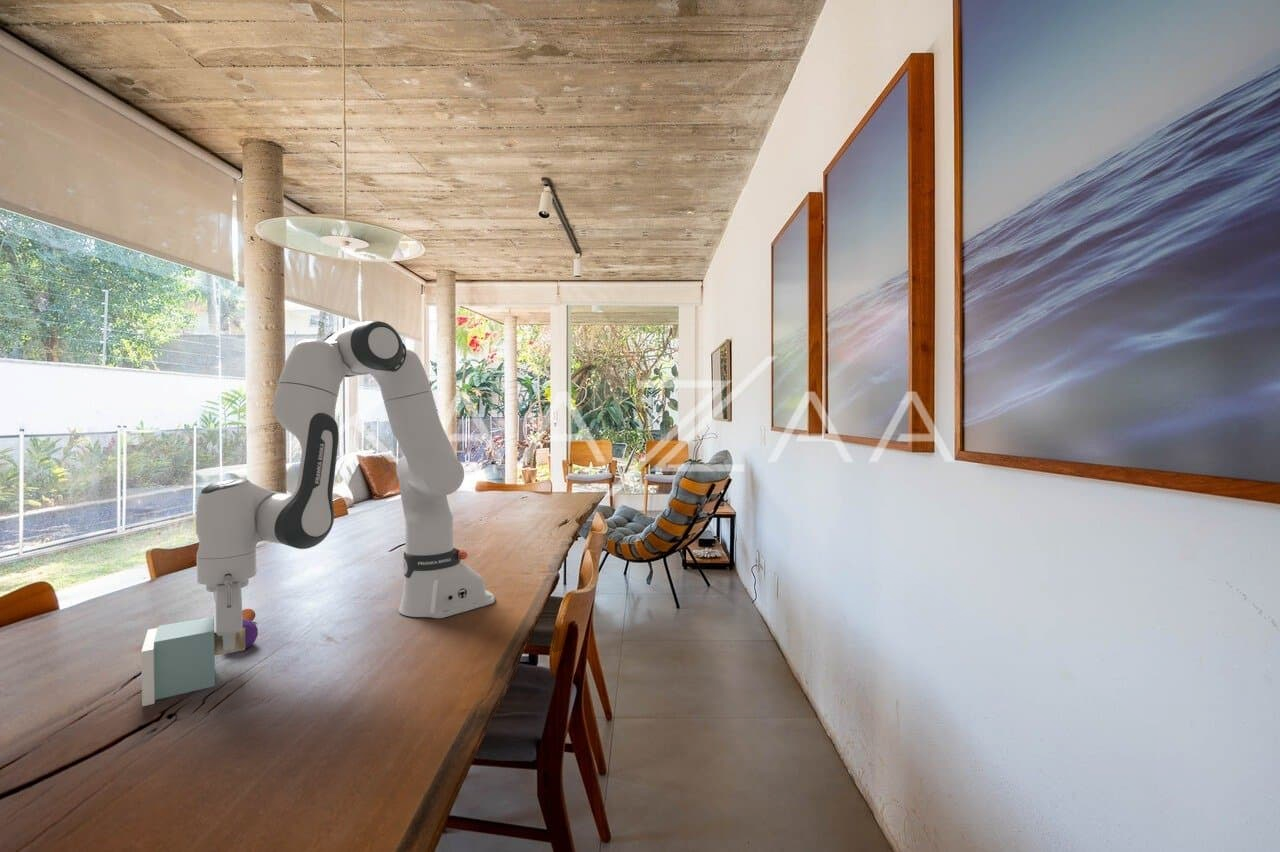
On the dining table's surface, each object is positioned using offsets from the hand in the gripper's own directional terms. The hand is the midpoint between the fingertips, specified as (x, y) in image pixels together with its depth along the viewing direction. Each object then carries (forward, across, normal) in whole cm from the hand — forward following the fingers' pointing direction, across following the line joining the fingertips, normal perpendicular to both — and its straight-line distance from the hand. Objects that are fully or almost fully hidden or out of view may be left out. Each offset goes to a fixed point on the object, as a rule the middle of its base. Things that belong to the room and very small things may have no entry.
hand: (228, 643), depth 104 cm
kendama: (+6, +20, -3) cm, 21 cm away
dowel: (+2, 0, +3) cm, 3 cm away
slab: (+6, 0, +11) cm, 12 cm away
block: (+6, 0, +6) cm, 8 cm away
